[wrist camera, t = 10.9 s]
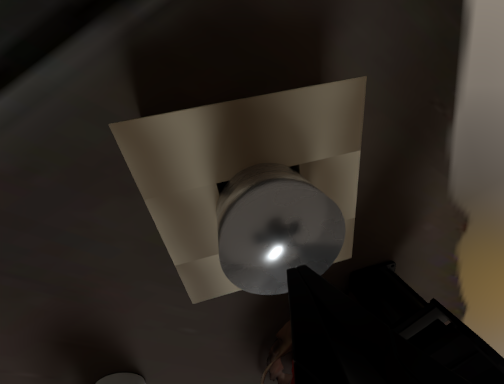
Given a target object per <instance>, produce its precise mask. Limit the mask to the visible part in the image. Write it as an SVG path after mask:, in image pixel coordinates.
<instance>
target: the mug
mask: <svg viewBox="0 0 504 384" xmlns="http://www.w3.org/2000/svg"><path fill="white" fill-rule="evenodd" d="M95 384H145V380H144V378H143V377H142V376H140V375H138V374H134V373H115V374H111V375H108V376H105V377H103V378H101V379H100V380H98V381H97V382H96V383H95Z"/></svg>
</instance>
